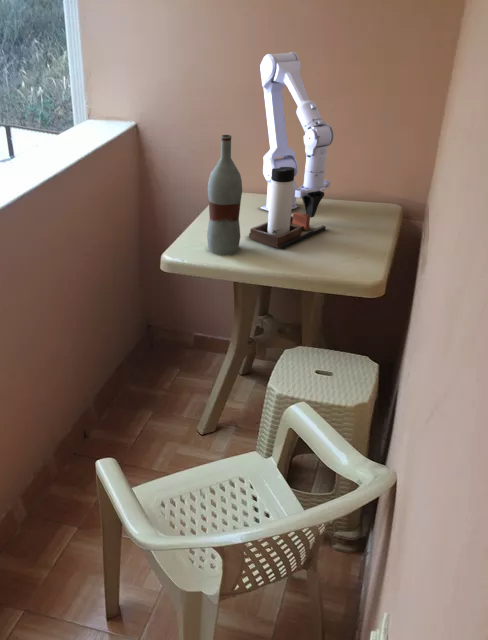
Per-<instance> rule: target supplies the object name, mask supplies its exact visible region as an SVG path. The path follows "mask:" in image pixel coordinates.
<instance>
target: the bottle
mask: <svg viewBox="0 0 488 640" xmlns="http://www.w3.org/2000/svg"><path fill="white" fill-rule="evenodd" d="M220 138H221V140H220V141H221V142H220V158H219V160H218V161H217V163H216V165H215V166H214V168H213V169H212V171H211V172H210V174H209V177H208V183H207V199H208V214H209V215H208V216H209V217H208V218H209V219H208V225H207V231H206V239H207V247H208V251H209V252H210V253H211V254H214V255H216V256H217V255H218V256H229V255H233V254H235V253H237V252H238V250H239V247H240V241H241V226H240V210H241V204H242V202H241V201H242V195H243V181H242V180H243V179H242V177H241V176H242V175H241V173H240V171H239V170H238V168H237V166H236V164H235V163H234V161H233V159H232V135H231V134H223V135H221V136H220Z"/></svg>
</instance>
